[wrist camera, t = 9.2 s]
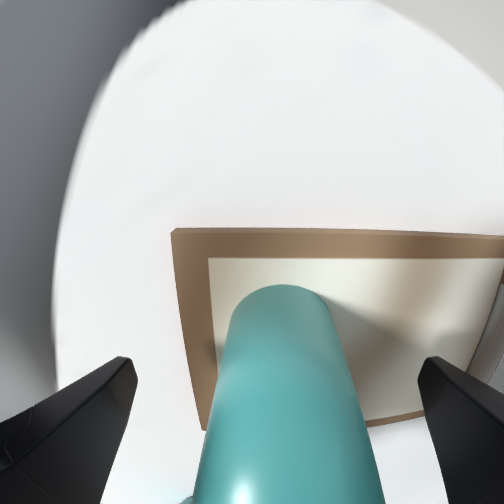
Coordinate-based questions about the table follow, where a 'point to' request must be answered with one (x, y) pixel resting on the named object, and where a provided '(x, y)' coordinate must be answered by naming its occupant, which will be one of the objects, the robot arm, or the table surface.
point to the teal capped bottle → (285, 410)
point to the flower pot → (187, 500)
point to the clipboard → (351, 302)
